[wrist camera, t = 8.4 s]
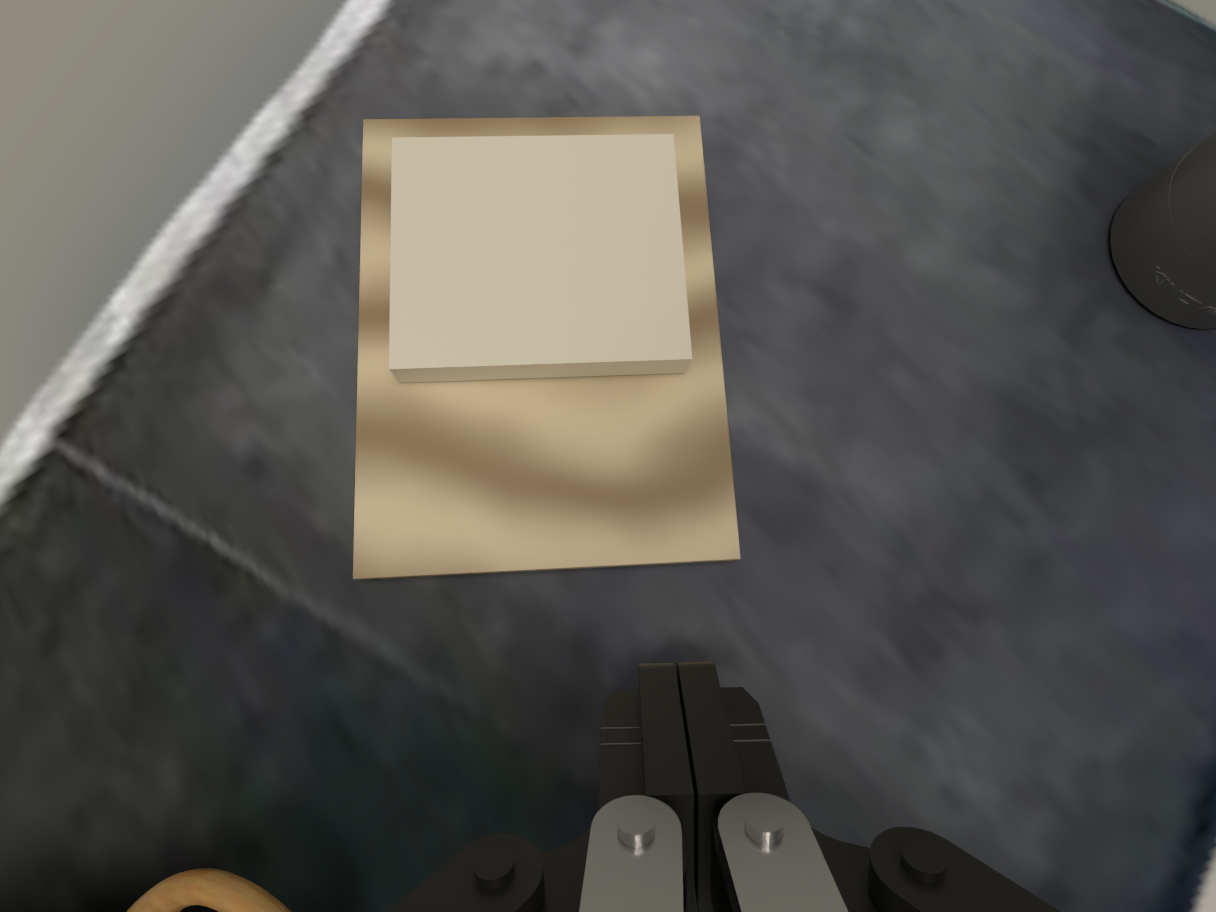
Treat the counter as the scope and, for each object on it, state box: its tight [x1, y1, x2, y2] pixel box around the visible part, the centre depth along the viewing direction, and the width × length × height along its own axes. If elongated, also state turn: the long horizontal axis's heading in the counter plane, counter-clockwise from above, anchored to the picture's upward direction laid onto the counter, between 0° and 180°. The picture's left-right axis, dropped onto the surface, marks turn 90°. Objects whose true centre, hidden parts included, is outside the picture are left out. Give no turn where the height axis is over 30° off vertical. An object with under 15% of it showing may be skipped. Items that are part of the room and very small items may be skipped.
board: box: [353, 116, 740, 580], centre depth 35 cm, size 24×18×2 cm
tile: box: [389, 134, 692, 383], centre depth 34 cm, size 14×2×12 cm
